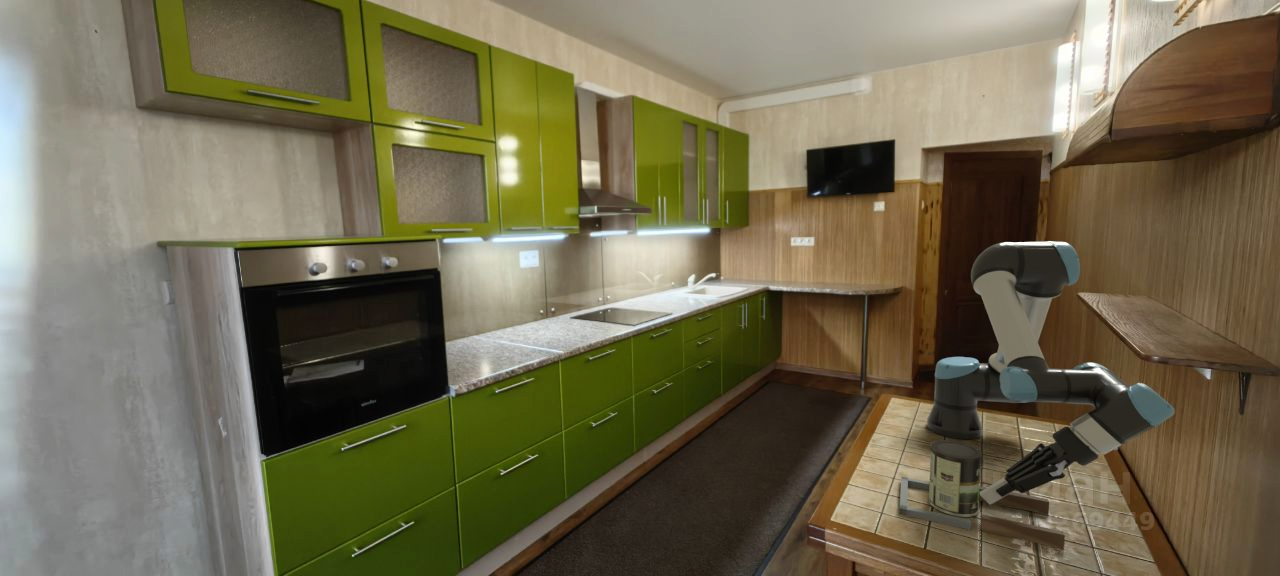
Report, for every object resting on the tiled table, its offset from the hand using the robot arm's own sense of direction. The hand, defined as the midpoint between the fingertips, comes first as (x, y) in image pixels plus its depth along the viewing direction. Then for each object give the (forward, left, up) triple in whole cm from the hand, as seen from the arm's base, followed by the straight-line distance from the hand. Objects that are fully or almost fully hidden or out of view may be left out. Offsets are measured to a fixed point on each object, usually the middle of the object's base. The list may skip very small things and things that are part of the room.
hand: (984, 498), depth 115 cm
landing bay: (-1, -10, -4) cm, 11 cm away
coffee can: (-2, -6, -5) cm, 8 cm away
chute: (-1, +6, -4) cm, 7 cm away
